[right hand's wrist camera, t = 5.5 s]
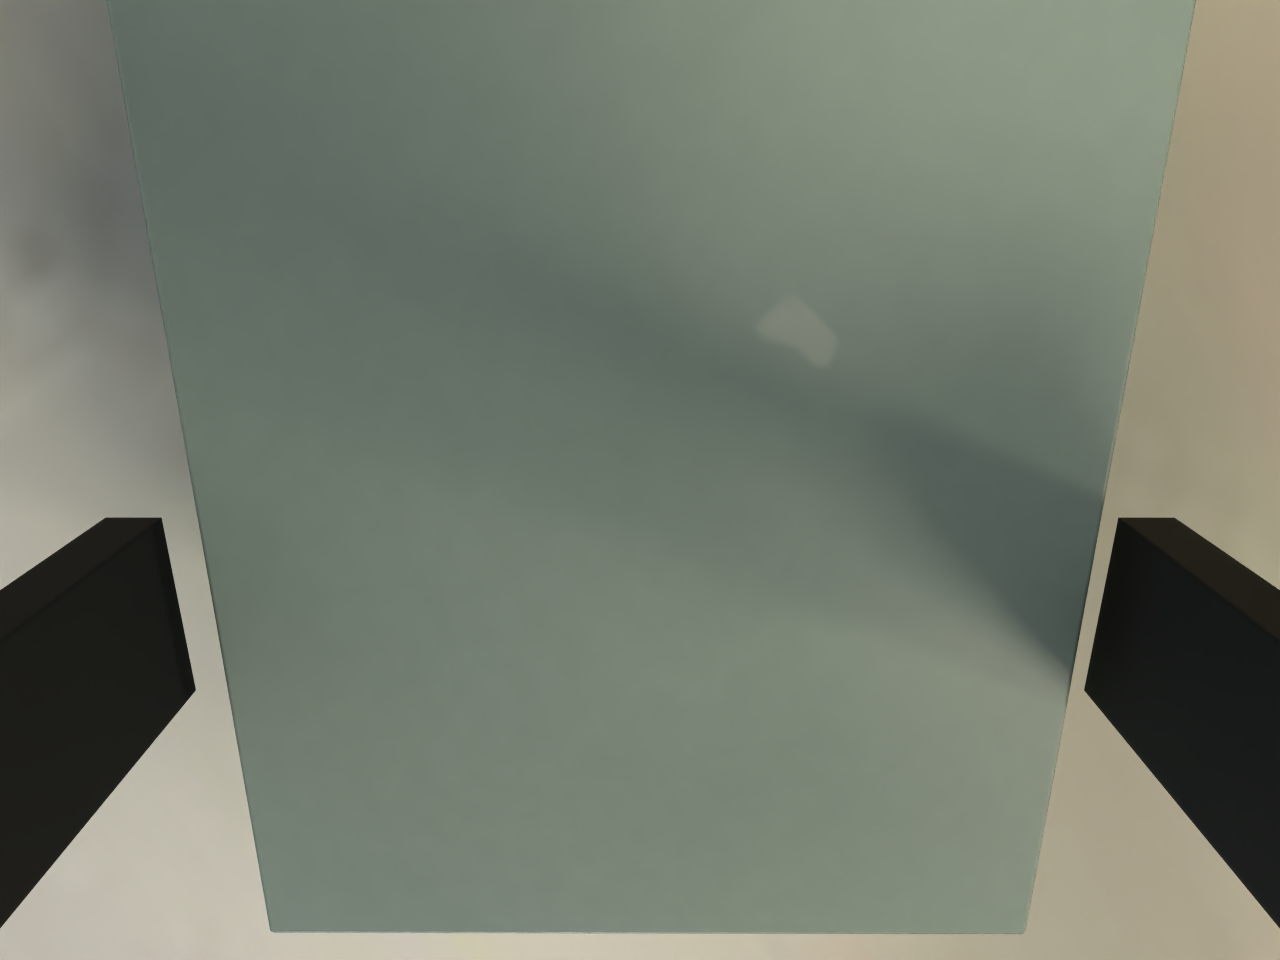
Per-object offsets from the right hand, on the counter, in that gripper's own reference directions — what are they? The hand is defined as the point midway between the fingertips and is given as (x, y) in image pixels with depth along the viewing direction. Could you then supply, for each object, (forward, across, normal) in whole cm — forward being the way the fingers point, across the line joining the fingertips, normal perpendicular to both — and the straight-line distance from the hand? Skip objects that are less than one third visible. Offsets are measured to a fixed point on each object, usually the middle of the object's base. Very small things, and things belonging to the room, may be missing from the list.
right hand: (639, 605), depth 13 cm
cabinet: (+9, 0, -4) cm, 10 cm away
